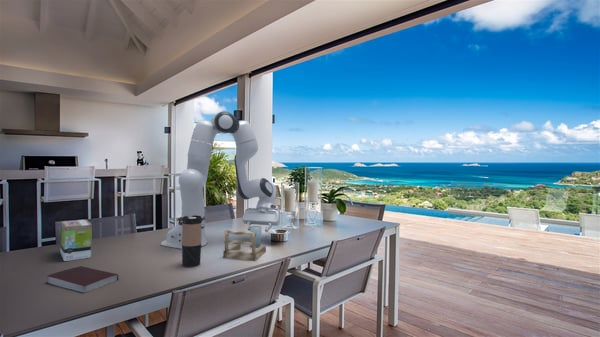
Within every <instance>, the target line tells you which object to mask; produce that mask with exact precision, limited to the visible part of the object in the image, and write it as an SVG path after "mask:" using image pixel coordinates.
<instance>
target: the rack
mask: <svg viewBox="0 0 600 337" xmlns="http://www.w3.org/2000/svg"><path fill="white" fill-rule="evenodd" d="M229 235H236V236H237V235H239V236H249V237H250V236H252V242H250V241H240V240H231V239H230V238H229V237H230V236H229ZM229 239H230V240H229ZM229 244H230V245H231V246H229ZM242 246H248V247H250V246H252V248H251V251H243V250H242V248H241V247H242ZM266 248H267V245H266V244H265V245H264V244H261V246H260V247H259V248H256V233H252V232H251V231H241V230H240V231H237V230H226V229H225V230H224V250H223V253H222V254H223V258H225V259H233V258H234V260H242V261H243V260H245V261H256V260H258V259H259V258H260V257H261V256H262V255H263V254H264V253H266V250H267V249H266ZM241 250H242V251H241Z"/></svg>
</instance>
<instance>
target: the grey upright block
mask: <svg viewBox="0 0 600 337" xmlns="http://www.w3.org/2000/svg"><path fill="white" fill-rule="evenodd" d="M262 229H263V228H262V226H261V225H252V226H251V231H250V232H252V233H256V249H257V248H259V247H260V246H261V245H262ZM249 237H250V241H249V242H252V236H249ZM249 247H250V248H251V249H252V246H249Z"/></svg>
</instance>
